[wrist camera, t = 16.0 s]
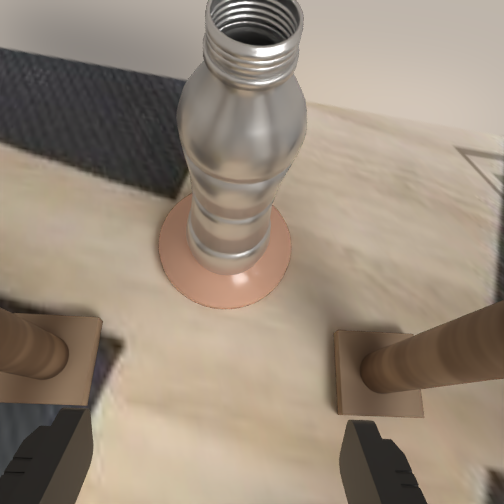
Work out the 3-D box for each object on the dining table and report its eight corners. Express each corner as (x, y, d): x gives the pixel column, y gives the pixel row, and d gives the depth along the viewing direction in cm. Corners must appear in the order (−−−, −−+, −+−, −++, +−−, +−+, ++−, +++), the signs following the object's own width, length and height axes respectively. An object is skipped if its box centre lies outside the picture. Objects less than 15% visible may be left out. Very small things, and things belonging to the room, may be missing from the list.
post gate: (406, 336, 31) (937, 120, 8) (416, 417, 29) (1196, 423, 6) (21, 316, 29) (-692, -54, 6) (-2, 402, 27) (-1299, 318, 4)
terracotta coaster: (311, 231, 34) (314, 227, 34) (245, 335, 30) (246, 333, 29) (208, 170, 36) (208, 165, 35) (132, 262, 32) (130, 258, 31)
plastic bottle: (176, 271, 31) (134, 53, 12) (200, 201, 33) (194, -63, 15) (255, 292, 31) (329, 104, 12) (273, 219, 33) (353, -21, 15)
